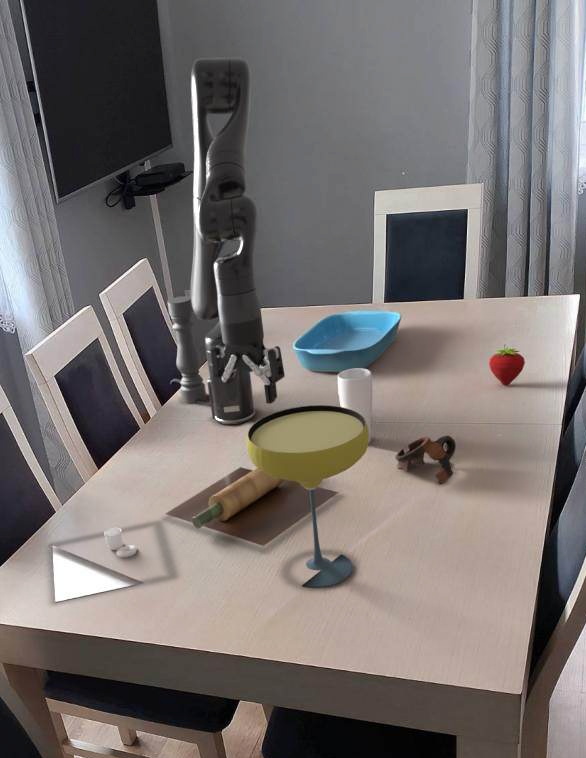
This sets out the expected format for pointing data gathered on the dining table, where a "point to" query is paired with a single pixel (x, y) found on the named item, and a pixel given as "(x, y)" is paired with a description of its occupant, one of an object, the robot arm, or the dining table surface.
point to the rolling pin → (237, 497)
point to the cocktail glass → (310, 461)
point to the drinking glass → (356, 392)
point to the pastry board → (256, 509)
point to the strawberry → (506, 365)
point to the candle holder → (186, 350)
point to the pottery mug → (433, 450)
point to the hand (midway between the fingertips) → (251, 400)
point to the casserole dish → (347, 340)
